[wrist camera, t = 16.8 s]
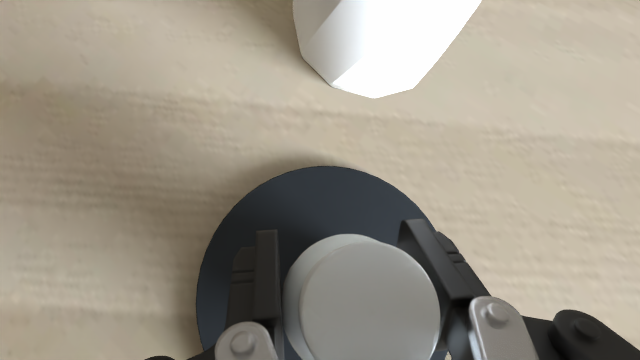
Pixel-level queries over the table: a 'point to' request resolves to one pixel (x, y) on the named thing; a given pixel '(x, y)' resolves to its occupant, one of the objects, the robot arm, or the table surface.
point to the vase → (377, 40)
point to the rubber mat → (298, 230)
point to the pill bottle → (359, 302)
